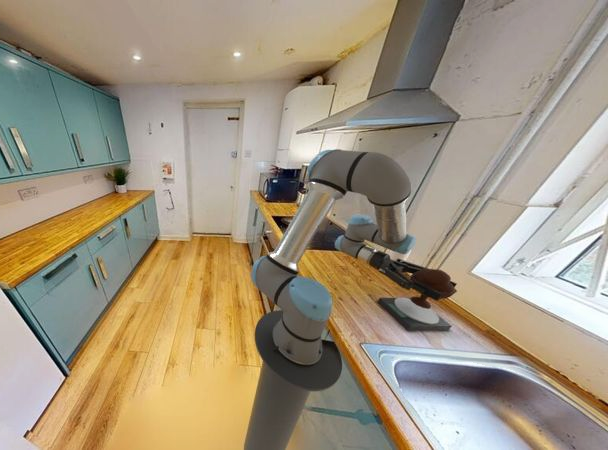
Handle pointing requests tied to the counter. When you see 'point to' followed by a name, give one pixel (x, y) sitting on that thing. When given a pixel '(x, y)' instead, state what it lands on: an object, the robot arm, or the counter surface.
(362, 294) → the counter surface
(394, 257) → the drinking glass
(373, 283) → the counter surface
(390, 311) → the kitchen scale
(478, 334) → the counter surface
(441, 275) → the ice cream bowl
